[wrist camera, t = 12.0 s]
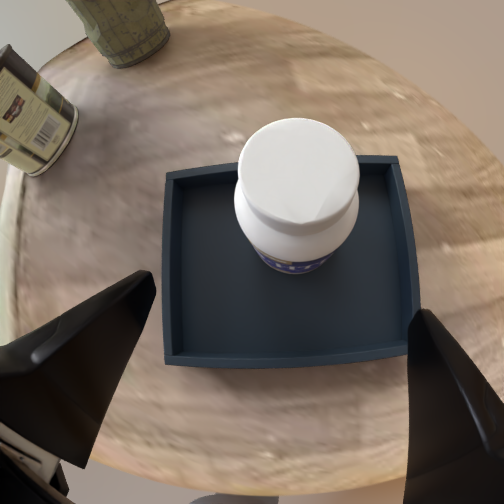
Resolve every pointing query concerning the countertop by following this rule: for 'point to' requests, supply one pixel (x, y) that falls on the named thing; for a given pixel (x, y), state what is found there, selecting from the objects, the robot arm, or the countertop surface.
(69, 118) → the coffee can
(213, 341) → the tray
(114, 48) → the stone statue
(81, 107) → the countertop surface
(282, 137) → the pill bottle
